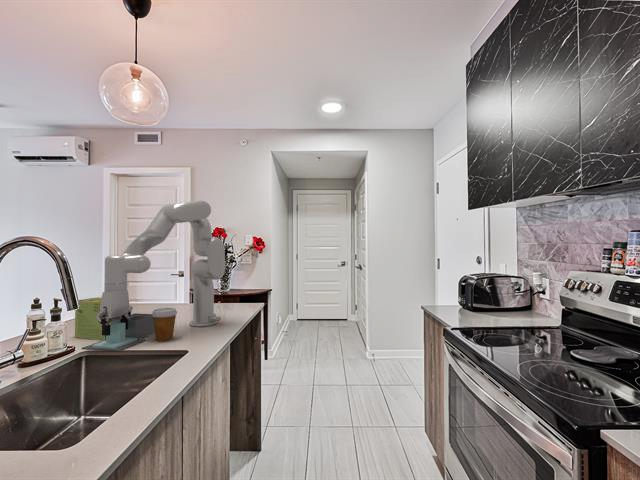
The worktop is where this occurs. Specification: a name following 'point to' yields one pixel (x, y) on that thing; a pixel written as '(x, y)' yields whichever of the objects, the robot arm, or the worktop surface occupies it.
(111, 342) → the lid
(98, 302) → the protein box
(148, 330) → the box
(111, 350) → the mat
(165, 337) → the disposable coffee cup
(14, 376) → the worktop surface
